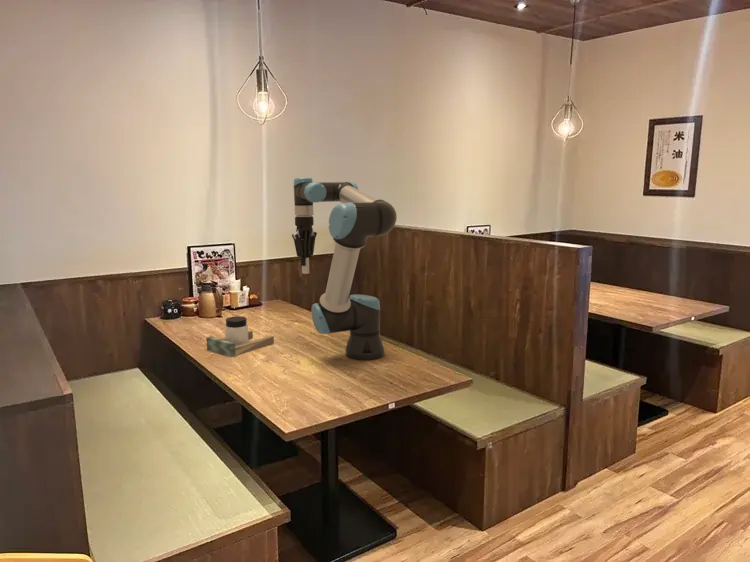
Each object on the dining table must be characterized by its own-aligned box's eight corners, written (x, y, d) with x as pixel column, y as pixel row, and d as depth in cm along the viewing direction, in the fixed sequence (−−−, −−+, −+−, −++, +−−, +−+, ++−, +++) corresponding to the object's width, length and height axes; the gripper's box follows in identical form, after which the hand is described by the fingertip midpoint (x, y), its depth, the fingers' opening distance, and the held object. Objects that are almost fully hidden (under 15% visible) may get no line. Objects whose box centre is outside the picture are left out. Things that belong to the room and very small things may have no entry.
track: (273, 343, 239) (273, 331, 238) (231, 356, 222) (230, 344, 221) (249, 337, 248) (249, 325, 247) (207, 349, 230) (206, 337, 230)
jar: (226, 351, 228) (224, 322, 226) (225, 345, 236) (224, 317, 234) (249, 349, 230) (248, 320, 228) (248, 343, 238) (247, 315, 236)
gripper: (307, 214, 242) (309, 270, 246) (286, 216, 231) (288, 274, 235) (321, 215, 237) (322, 272, 242) (300, 217, 227) (301, 276, 231)
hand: (305, 273), depth 238 cm, fingers closed
